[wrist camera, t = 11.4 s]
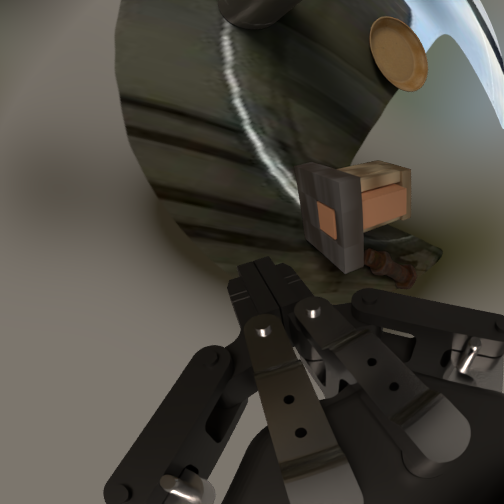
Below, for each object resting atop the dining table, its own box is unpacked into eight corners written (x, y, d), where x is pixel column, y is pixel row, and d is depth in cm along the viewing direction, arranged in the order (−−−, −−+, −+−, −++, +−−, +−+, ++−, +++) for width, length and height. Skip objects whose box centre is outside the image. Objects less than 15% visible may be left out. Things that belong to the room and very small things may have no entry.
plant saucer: (367, 87, 36) (377, 87, 34) (354, 11, 29) (363, 7, 27) (422, 95, 39) (431, 96, 37) (411, 29, 32) (421, 27, 30)
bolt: (357, 244, 51) (398, 267, 56) (352, 269, 50) (395, 288, 55) (380, 241, 45) (419, 266, 51) (376, 268, 44) (416, 289, 50)
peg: (320, 228, 37) (335, 239, 34) (316, 201, 35) (332, 210, 32) (389, 206, 39) (406, 214, 36) (388, 181, 37) (406, 188, 34)
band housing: (305, 238, 44) (345, 274, 34) (294, 166, 39) (338, 182, 28) (380, 213, 47) (426, 238, 36) (377, 149, 41) (429, 161, 30)
